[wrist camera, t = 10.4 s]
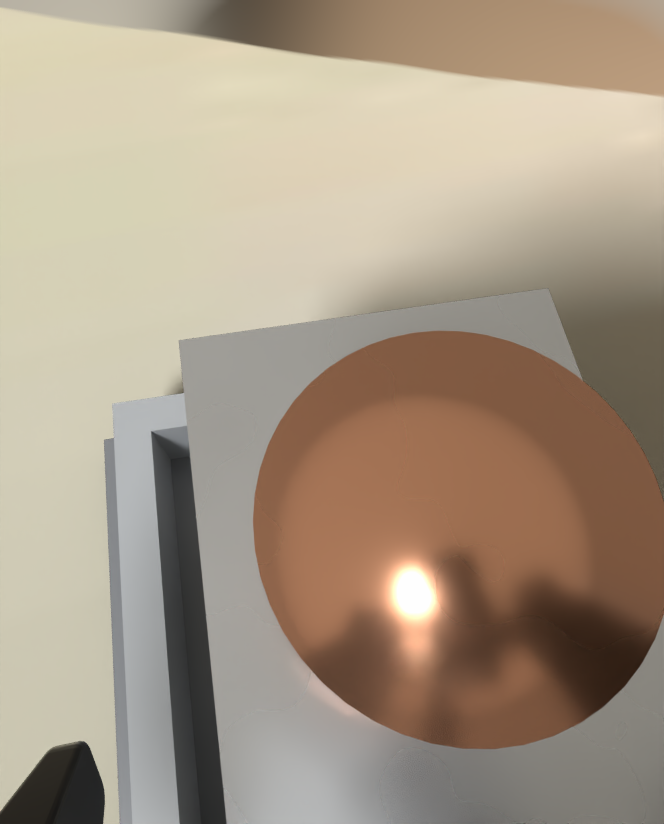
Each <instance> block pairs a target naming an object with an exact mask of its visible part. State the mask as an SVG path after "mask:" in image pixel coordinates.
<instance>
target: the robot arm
mask: <svg viewBox="0 0 664 824" xmlns="http://www.w3.org/2000/svg"><path fill="white" fill-rule="evenodd" d="M104 805H105V795H104V787H103V783H102V780H101V777H100V774H99V772H98V769H97V766H96V764H95V761H94V758H93V755H92V753H91V750H90V748H89V746H88V744H87V743H86V742H84V741H78V742H74V743H69V744H64V745H59V746H55V747H53V748H51V749H50V750H49V751H48V752H47V753H46V754H45V755H44V756H43V758H42V759H41V760H40V761H39V763H38V764H37V765H36V767H35V768H34V769H33V770H32V772H31V773H30V774H29V776H28V777H27V778H26V779H25V781H24V782H23V783H22V784H21V786H20V787H19V788H18V790H17V791H16V792H15V793H14V795H13V796H12V797H11V799H10V800H9V801H8V802H7V804H6V805H5V806H4V807H3V809H2V810H1V811H0V824H103V817H104Z"/></svg>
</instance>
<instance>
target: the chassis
mask: <svg viewBox="0 0 664 824" xmlns="http://www.w3.org/2000/svg"><path fill="white" fill-rule="evenodd" d="M112 408H113V429H114V438H112V439H105V440H104V451H105V475H106V499H107V523H108V548H109V572H110V596H111V621H112V645H113V669H114V693H115V718H116V742H117V766H118V791H119V815H120V824H227V821H226V811H225V801H224V791H223V781H222V771H221V761H220V751H219V741H218V731H217V721H216V711H215V701H214V691H213V681H212V670H211V660H210V650H209V640H208V630H207V620H206V610H205V600H204V590H203V580H202V570H201V560H200V550H199V540H198V530H197V520H196V510H195V500H194V490H193V480H192V469H191V459H190V449H189V439H188V429H187V419H186V409H185V399H184V393H181V394H174V395H168V396H161V397H154V398H147V399H141V400H134V401H127V402H120V403H114V404H112Z"/></svg>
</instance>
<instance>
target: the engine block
mask: <svg viewBox="0 0 664 824" xmlns="http://www.w3.org/2000/svg"><path fill="white" fill-rule="evenodd" d="M179 349H180V359H181V369H182V379H183V389H184V399H185V409H186V419H187V429H188V439H189V449H190V459H191V469H192V480H193V490H194V500H195V510H196V520H197V530H198V540H199V550H200V560H201V570H202V580H203V590H204V600H205V610H206V620H207V630H208V640H209V650H210V660H211V670H212V681H213V691H214V701H215V711H216V721H217V731H218V741H219V751H220V761H221V771H222V781H223V791H224V801H225V811H226V821H227V824H664V501H663V498H662V495H661V491H660V488H659V485H658V482H657V479H656V477H655V475H654V473H653V470H652V468H651V466H650V464H649V462H648V460H647V458H646V456H645V453H644V452H643V450H642V449H641V447H640V445H639V444H638V442H637V440H636V439H635V437H634V436H633V434H632V432H631V431H630V429H629V428H628V427H627V426H626V424H625V423H624V422H623V421H622V419H621V418H620V417H619V415H618V414H617V413H616V412H615V410H614V409H613V408H612V407H611V406H610V405H609V404H608V403H607V402H606V401H605V400H604V399H603V398H602V397H601V396H600V395H599V394H598V393H597V392H596V391H595V390H594V389H592V388H591V387H590V386H589V385H588V384H586V383H585V382H584V381H583V379H582V377H581V374H580V371H579V369H578V366H577V363H576V361H575V358H574V355H573V353H572V350H571V347H570V345H569V342H568V339H567V337H566V334H565V331H564V329H563V326H562V323H561V321H560V318H559V315H558V313H557V310H556V307H555V305H554V302H553V299H552V297H551V294H550V291H549V289H548V288H545V289H538V290H531V291H524V292H517V293H510V294H503V295H496V296H489V297H482V298H475V299H468V300H460V301H453V302H446V303H439V304H432V305H425V306H418V307H411V308H404V309H397V310H390V311H383V312H376V313H369V314H361V315H354V316H347V317H340V318H333V319H326V320H319V321H312V322H305V323H298V324H291V325H284V326H277V327H270V328H262V329H255V330H248V331H241V332H234V333H227V334H220V335H213V336H206V337H199V338H192V339H185V340H179Z"/></svg>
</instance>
